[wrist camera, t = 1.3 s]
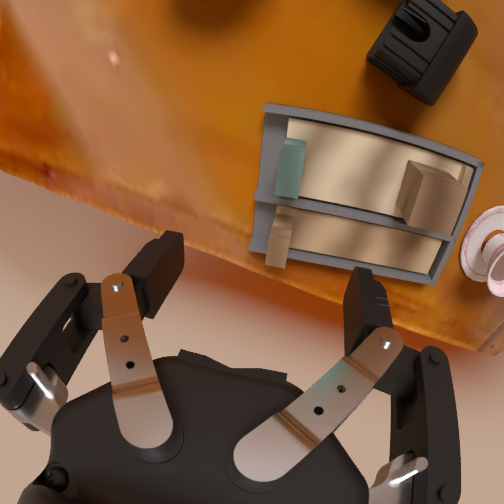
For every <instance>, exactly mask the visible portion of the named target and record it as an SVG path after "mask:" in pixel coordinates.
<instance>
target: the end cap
mask: <svg viewBox="0 0 504 504" xmlns="http://www.w3.org/2000/svg"><path fill="white" fill-rule="evenodd" d="M477 34H478V31H477V27H476V25H475V23H474V22H473V20H472V19H471V18H470V17H469V15H468V14H467V13H466V12H464V11H460V12H457V13H454V12H453V11H452V10H451V9H450V8H448V7H447V6H446V5H445V4H444V3H442V2H441V1H440V0H403V1H402V2H401V3H400V5H399V6H398V8H397V9H396V11H395V12H394V14H393V15H392V17H391V18H390V20H389V21H388V23H387V24H386V26H385V28H384V29H383V31H382V32H381V34H380V35H379V37H378V38H377V40H376V41H375V43H374V44H373V46H372V47H371V49H370V50H369V52H368V53H367V56H366V57H367V60H368V61H369V62H371V63H372V64H374V65H375V66H377V67H378V68H379V69H381V70H382V71H384V72H385V73H386V74H388V75H389V76H391V77H392V78H393V79H395V80H396V81H397V82H398V84H397V85H398V86H399V87H400V88H402V89H403V90H404V91H406V92H407V93H409V94H410V95H412V96H413V97H415V98H416V99H418V100H419V101H421V102H423V103H425V104H427V105H429V106H433V105H434V104H435V103H436V101H437V100H438V98H439V97H440V95H441V94H442V92H443V91H444V89H445V87H446V86H447V84H448V83H449V81H450V80H451V78H452V76H453V75H454V73H455V72H456V70H457V69H458V67H459V65H460V64H461V62H462V60H463V59H464V57H465V55H466V54H467V52H468V50H469V49H470V47H471V45H472V44H473V42H474V40H475V39H476V37H477Z"/></svg>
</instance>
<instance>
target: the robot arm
mask: <svg viewBox="0 0 504 504" xmlns="http://www.w3.org/2000/svg"><path fill="white" fill-rule="evenodd" d="M183 267H184V239H183V234H182V233H180V232H174V231H169V230H167V231H165V232H164V234H163V235H162V236H161V237H160V238H159V239H154V240H152V241H150V242H148V243H146V245H145V246H144V247H143V248H142V249H141V251H140V252H139V253H138V254H137V256H136V257H134V259H133V260H132V261H131V262H130V263H129V264H128V266H127V267H126V268H125V269H124V271H123V272H122V273H116V274H112V275H109V276H107V277H106V278H105V279H104V280H103V281H102V283H86V280H85V277H84V275H82V274H81V273H70V274H67V275H65V276H63V277H62V278H61V279H60V280H59V281H58V282H57V284H56V285H55V286H54V287H53V288H52V289H51V291H50V292H49V293H48V294H47V296H46V297H45V298H44V299H43V300H42V302H41V303H40V304H39V306H38V307H37V308H36V309H35V311H34V312H33V313H32V315H31V316H30V317H29V318H28V320H27V321H26V322H25V324H24V325H23V326H22V328H21V329H20V331H19V332H18V333H17V335H16V336H15V338H14V339H13V340H12V342H11V343H10V345H9V346H8V348H7V349H6V351H5V352H4V354H3V355H2V356H1V358H0V403H1V405H2V406H3V407H4V408H5V409H6V410H7V411H8V412H9V413H10V414H11V415H12V416H13V417H14V418H16V419H17V420H18V421H20V422H21V423H23V424H24V425H25V426H26V427H27V428H28V429H30V430H32V431H42V432H44V433H45V434H48V435H49V436H51V450H50V456H49V461H48V464H47V466H46V468H45V469H44V470H43V472H42V473H41V474H40V475H39V476H38V477H37V478H36V479H35V480H34V481H33V482H32V483H30V484H29V485H28V486H27V487H26V488H25V489H24V490H23V492H22V494H21V496H20V498H19V501H18V503H17V504H457V503H458V501H459V499H460V495H461V458H460V440H459V429H458V419H457V410H456V403H455V396H454V389H453V383H452V377H451V372H450V367H449V362H448V358H447V356H446V355H445V353H444V352H443V351H442V350H440V349H439V348H437V347H434V346H427V347H425V348H424V349H423V350H422V351H421V352H419V351H416V350H414V349H412V348H409V347H407V346H405V345H404V344H403V339H402V337H401V336H400V334H398V332H396V331H395V330H394V329H393V324H392V318H391V313H390V308H389V307H388V306H389V304H388V300H387V294H386V290H385V288H384V287H383V286H382V284H381V283H380V282H379V281H374V279H373V274H372V270H371V269H369V268H364V267H358V266H355V267H354V269H353V272H352V275H351V278H350V280H349V283H348V286H347V289H346V291H345V295H344V300H343V313H344V342H345V343H344V345H345V346H344V348H345V356H344V357H343V358H342V359H341V360H340V361H339V362H338V363H336V365H334V366H333V367H332V368H331V369H330V370H329V371H328V372H327V373H326V374H325V375H324V376H322V377H321V378H320V379H319V380H318V381H317V382H316V383H315V384H313V385H312V386H311V387H310V388H309V389H308V390H307V391H305V392H303V391H302V390H301V389H300V388H298V387H297V386H295V385H293V384H292V383H289V382H287V381H286V378H287V373H282V372H277V371H272V370H267V369H261V368H230V367H227V366H225V365H223V364H221V363H219V362H217V361H215V360H213V359H211V358H209V357H207V356H205V355H200V354H197V353H193V352H189V351H186V350H182V349H181V350H180V352H179V354H178V356H167V357H161V358H158V359H155V360H152V358H151V354H150V351H149V347H148V343H147V340H146V336H145V333H144V329H143V325H142V320H143V318H144V317H147V318H150V319H154V317H155V315H156V313H157V312H158V310H159V309H160V307H161V305H162V304H163V302H164V300H165V298H166V297H167V295H168V294H169V292H170V290H171V289H172V287H173V285H174V284H175V282H176V280H177V279H178V277H179V276H180V274H181V272H182V270H183ZM69 318H71V320H70V322H69V323H68V324H67V326H66V328H65V329H64V330H63V327H64V325H65V324H66V322H67V321H68V319H69ZM98 330H103V337H104V344H105V351H106V357H107V363H108V367H109V374H110V380H111V381H110V382H108V383H106V384H104V385H102V386H100V387H98V388H96V389H94V390H92V391H90V392H88V393H86V394H84V395H82V396H80V397H78V398H76V399H74V400H71V401H69V402H68V403H67V398H68V390H67V387H66V386H67V384H68V382H69V380H70V379H71V377H72V375H73V373H74V371H75V370H76V368H77V365H78V364H79V362H80V361H81V359H82V357H83V355H84V354H85V352H86V350H87V348H88V347H89V345H90V343H91V342H92V340H93V338H94V337H95V335H96V333H97V332H98ZM373 388H375V389H377V390H379V391H382V392H385V393H387V394H389V395H391V435H390V436H391V437H390V456H389V463H387V464H386V465H384V466H383V467H381V469H380V470H379V471H378V473H377V475H376V479H375V482H374V484H373V485H372V487H371V488H368V485H367V482H366V480H365V478H364V477H363V475H362V474H361V473H360V471H359V469H358V468H357V467H356V465H355V464H354V462H353V461H352V460H351V458H350V457H349V455H348V454H347V452H346V451H345V449H344V448H343V446H342V445H341V443H340V442H339V441H338V439H337V438H336V436H335V435H334V432H335V431H336V430H337V428H338V427H339V426H340V425H341V424H342V423H343V422H344V421H345V420H346V419H347V418H348V417H349V416H350V415H351V413H352V412H353V411H354V410H355V409H356V408H357V407H358V406H359V404H360V403H361V402H362V401H363V400H364V399H365V398H366V397H367V395H368V394H369V393H370V392H371V391H372V389H373Z"/></svg>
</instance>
